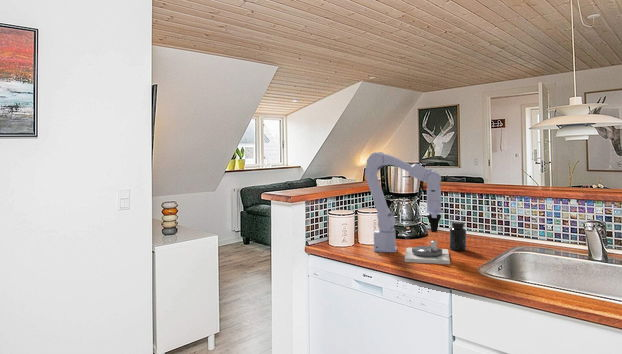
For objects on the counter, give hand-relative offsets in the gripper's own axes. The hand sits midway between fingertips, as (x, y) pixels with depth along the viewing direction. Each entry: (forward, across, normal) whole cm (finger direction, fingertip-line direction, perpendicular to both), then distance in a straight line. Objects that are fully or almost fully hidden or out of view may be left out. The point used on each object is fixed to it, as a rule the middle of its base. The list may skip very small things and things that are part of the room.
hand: (434, 231), depth 161 cm
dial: (+8, -6, +3) cm, 10 cm away
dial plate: (+9, -6, +3) cm, 12 cm away
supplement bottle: (+10, +9, -10) cm, 17 cm away
